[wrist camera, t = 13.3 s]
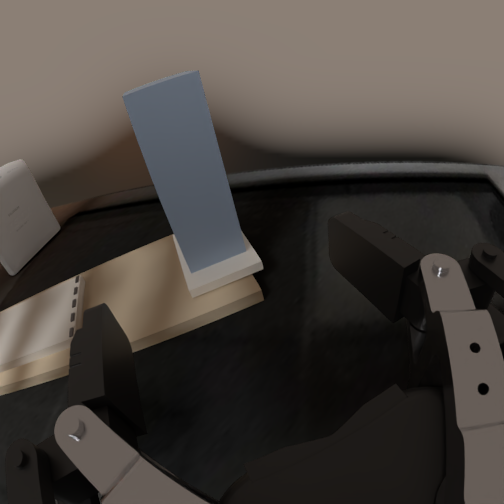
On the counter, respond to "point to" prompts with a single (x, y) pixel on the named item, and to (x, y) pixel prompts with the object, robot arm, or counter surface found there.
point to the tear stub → (191, 180)
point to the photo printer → (22, 217)
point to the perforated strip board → (121, 305)
